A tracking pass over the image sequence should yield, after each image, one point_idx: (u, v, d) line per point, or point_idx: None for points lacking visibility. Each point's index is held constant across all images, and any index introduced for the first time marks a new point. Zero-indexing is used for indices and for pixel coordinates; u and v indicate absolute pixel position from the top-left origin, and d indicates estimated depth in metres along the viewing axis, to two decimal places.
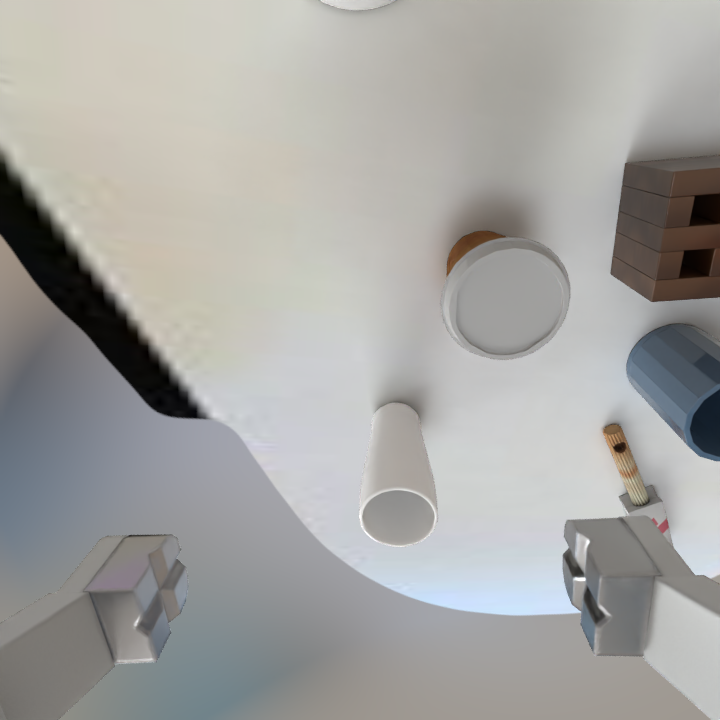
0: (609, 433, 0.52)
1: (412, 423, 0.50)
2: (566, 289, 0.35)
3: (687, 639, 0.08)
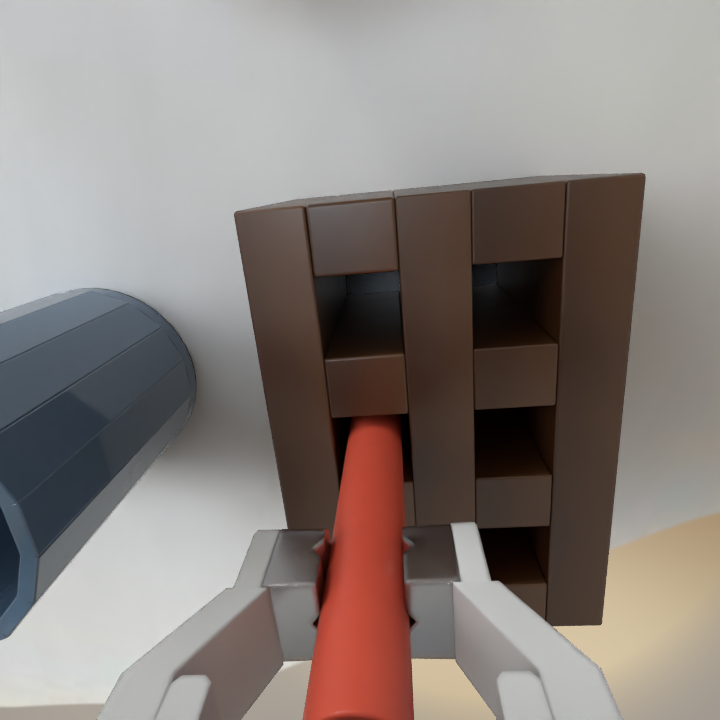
0: None
1: None
2: None
3: (476, 643, 0.08)
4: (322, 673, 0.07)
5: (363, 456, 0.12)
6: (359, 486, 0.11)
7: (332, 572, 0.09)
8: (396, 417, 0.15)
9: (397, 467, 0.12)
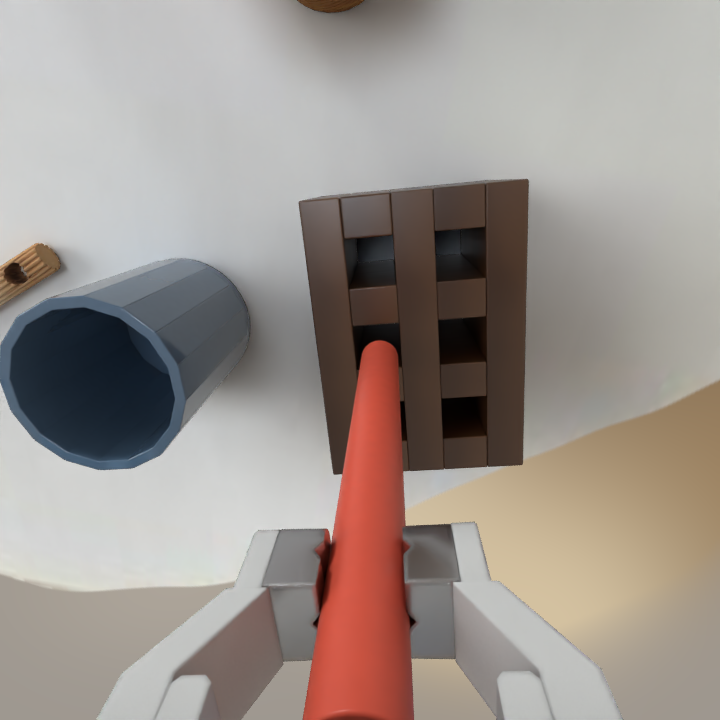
0: (38, 250, 0.29)
1: None
2: None
3: (476, 643, 0.08)
4: (322, 673, 0.07)
5: (363, 456, 0.12)
6: (359, 487, 0.11)
7: (332, 571, 0.09)
8: (396, 417, 0.15)
9: (397, 466, 0.12)
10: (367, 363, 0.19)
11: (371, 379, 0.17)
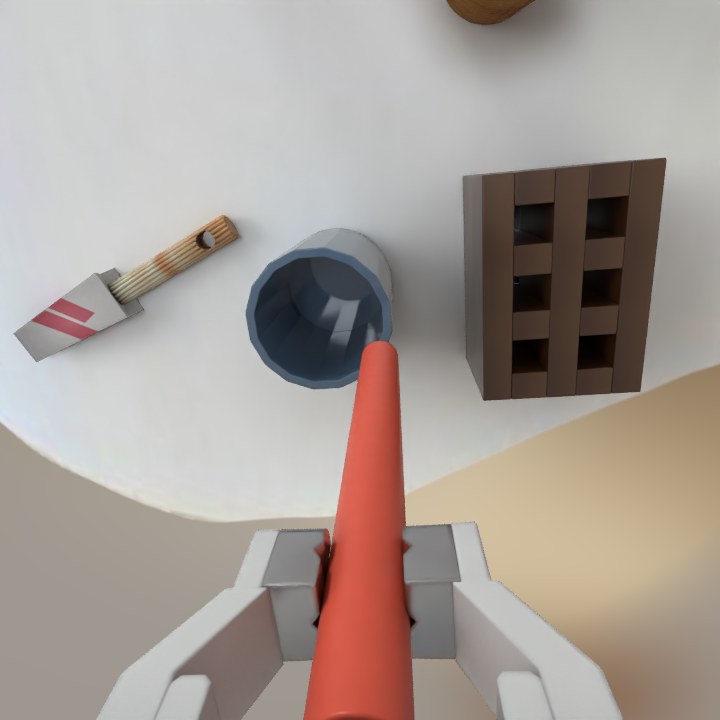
0: (225, 221, 0.35)
1: None
2: None
3: (476, 643, 0.08)
4: (322, 674, 0.07)
5: (363, 457, 0.12)
6: (360, 487, 0.11)
7: (332, 573, 0.09)
8: (396, 417, 0.15)
9: (397, 467, 0.12)
10: (367, 363, 0.19)
11: (371, 379, 0.17)
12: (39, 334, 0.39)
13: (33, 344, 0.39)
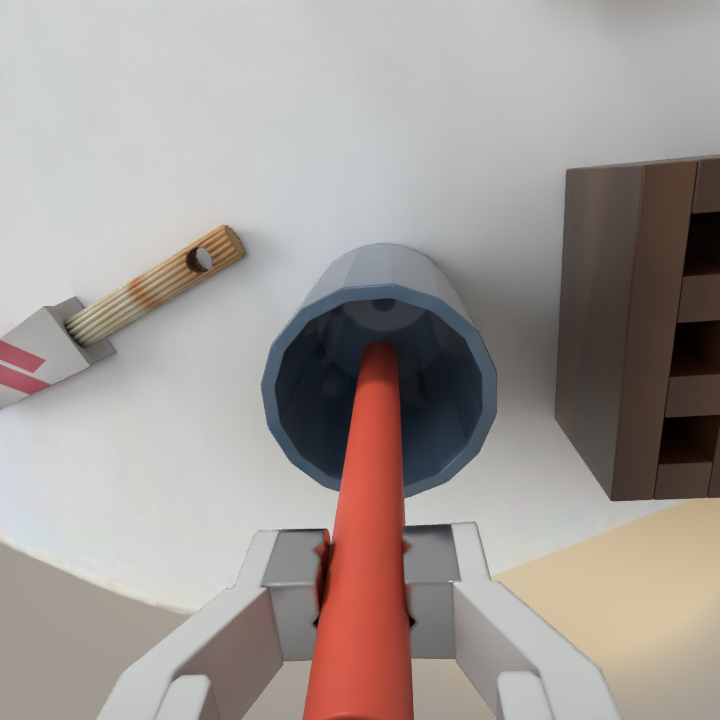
0: (227, 233, 0.25)
1: None
2: None
3: (476, 643, 0.08)
4: (322, 675, 0.07)
5: (363, 457, 0.12)
6: (359, 488, 0.11)
7: (331, 573, 0.09)
8: (396, 418, 0.15)
9: (397, 467, 0.12)
10: (367, 364, 0.19)
11: (371, 380, 0.17)
12: None
13: None
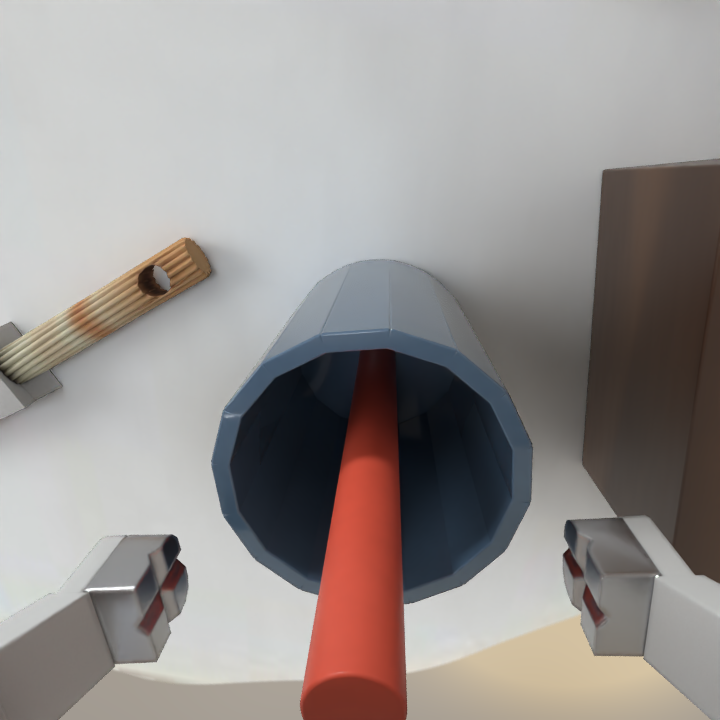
0: (188, 248, 0.21)
1: None
2: None
3: (687, 639, 0.08)
4: (321, 640, 0.08)
5: (360, 447, 0.13)
6: (356, 475, 0.12)
7: (330, 552, 0.10)
8: (393, 411, 0.16)
9: (393, 457, 0.13)
10: (365, 360, 0.20)
11: (369, 375, 0.18)
12: None
13: None
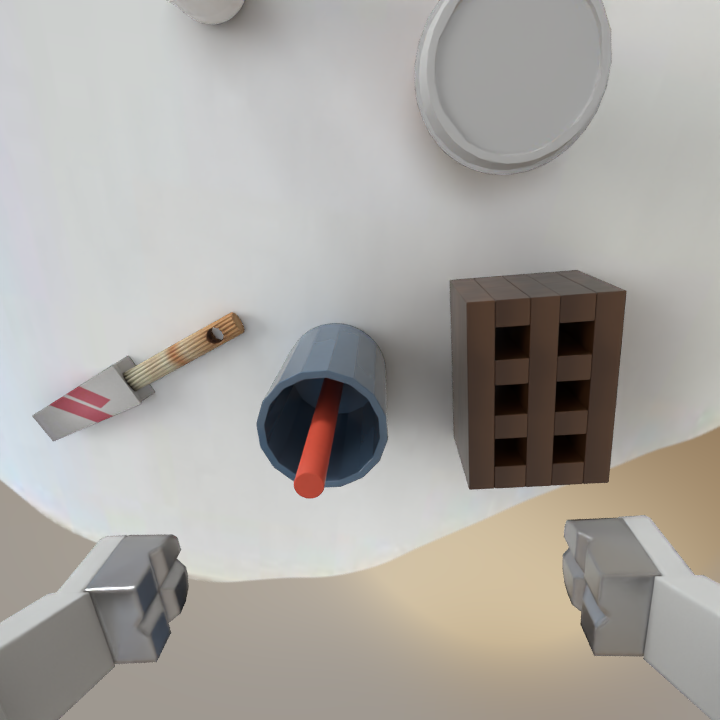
0: (233, 318, 0.39)
1: None
2: (537, 155, 0.24)
3: (687, 639, 0.08)
4: (300, 468, 0.26)
5: (318, 417, 0.31)
6: (315, 427, 0.30)
7: (304, 450, 0.28)
8: (336, 403, 0.34)
9: (332, 421, 0.31)
10: (326, 378, 0.38)
11: (327, 386, 0.36)
12: (57, 417, 0.42)
13: (50, 425, 0.42)
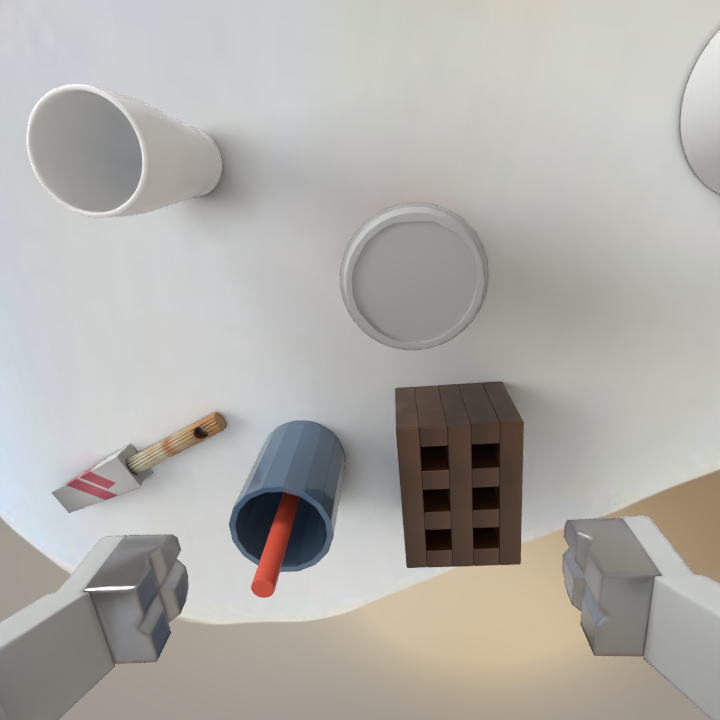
0: (216, 419, 0.47)
1: (205, 183, 0.37)
2: (433, 344, 0.32)
3: (687, 639, 0.08)
4: (256, 573, 0.34)
5: (278, 518, 0.39)
6: (274, 529, 0.38)
7: (262, 553, 0.36)
8: (296, 500, 0.42)
9: (289, 521, 0.39)
10: None
11: None
12: (72, 494, 0.50)
13: (67, 501, 0.51)
